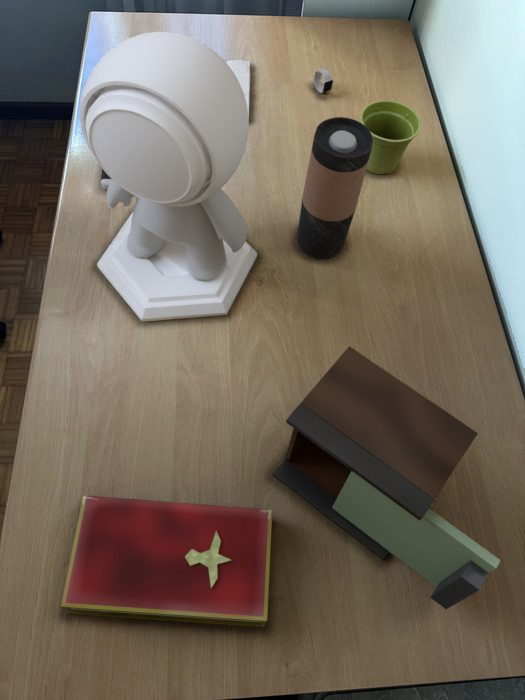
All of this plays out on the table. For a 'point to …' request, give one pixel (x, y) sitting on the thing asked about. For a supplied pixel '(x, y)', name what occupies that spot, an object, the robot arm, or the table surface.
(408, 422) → the closet
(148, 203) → the white cartoon figure
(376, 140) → the plant pot
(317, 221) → the travel mug
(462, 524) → the table surface
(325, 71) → the smartwatch
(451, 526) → the closet door
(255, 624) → the hardcover book
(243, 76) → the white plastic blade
